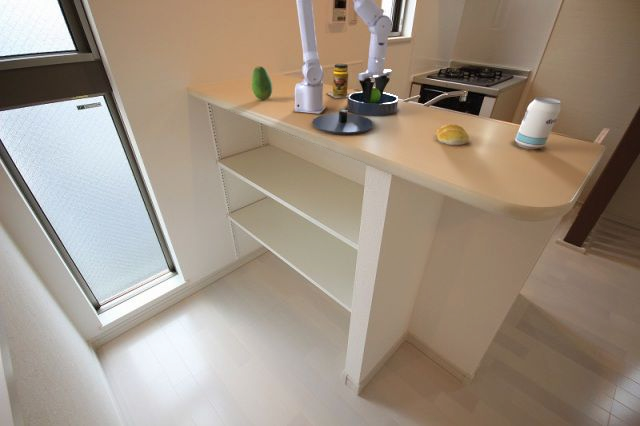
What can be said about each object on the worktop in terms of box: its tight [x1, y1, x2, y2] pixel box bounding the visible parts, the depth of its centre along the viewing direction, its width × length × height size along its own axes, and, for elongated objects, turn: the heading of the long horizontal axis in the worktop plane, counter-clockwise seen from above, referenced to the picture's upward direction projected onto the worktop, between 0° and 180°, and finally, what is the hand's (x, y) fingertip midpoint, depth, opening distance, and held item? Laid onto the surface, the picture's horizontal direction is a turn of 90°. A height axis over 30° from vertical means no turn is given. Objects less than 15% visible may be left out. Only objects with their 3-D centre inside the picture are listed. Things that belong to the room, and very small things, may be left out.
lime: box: [367, 87, 381, 104], centre depth 107 cm, size 6×6×6 cm
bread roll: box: [436, 123, 470, 146], centre depth 83 cm, size 8×9×4 cm
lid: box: [312, 109, 374, 135], centre depth 92 cm, size 19×19×4 cm
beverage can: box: [514, 97, 562, 150], centre depth 78 cm, size 7×7×12 cm
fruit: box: [251, 65, 273, 101], centre depth 115 cm, size 8×8×12 cm
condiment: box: [327, 63, 349, 99], centre depth 123 cm, size 7×8×12 cm
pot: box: [346, 91, 399, 117], centre depth 109 cm, size 18×18×4 cm
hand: (372, 99), depth 108 cm, fingers closed on lime, 5 cm apart
